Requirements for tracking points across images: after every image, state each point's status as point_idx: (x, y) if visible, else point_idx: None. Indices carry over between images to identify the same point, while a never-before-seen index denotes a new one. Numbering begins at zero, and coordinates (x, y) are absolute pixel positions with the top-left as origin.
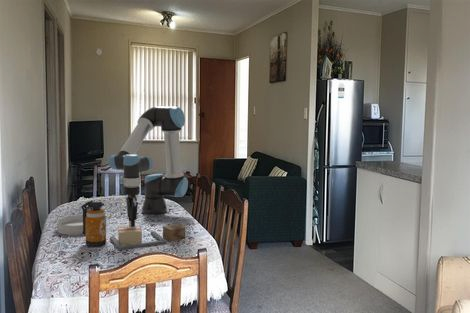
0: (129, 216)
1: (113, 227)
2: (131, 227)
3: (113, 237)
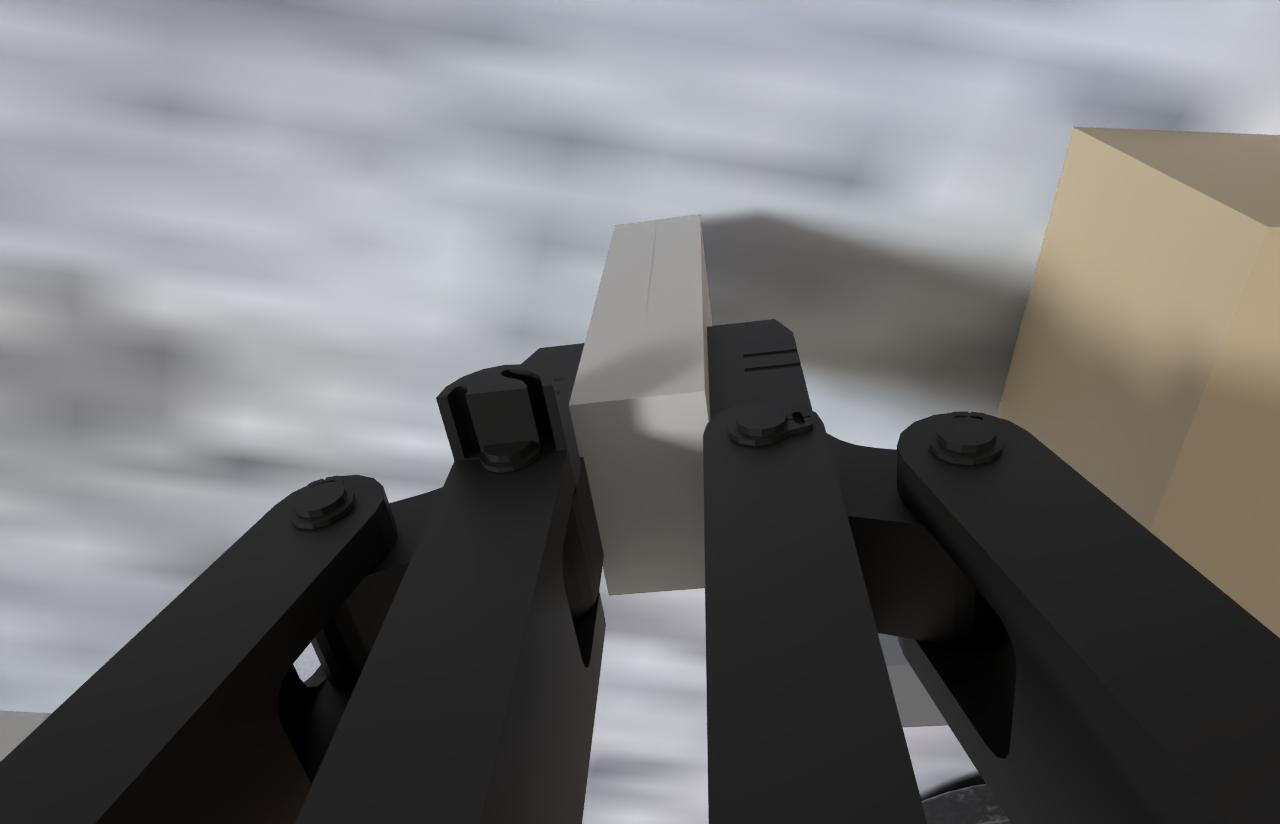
0: (592, 681)
1: (20, 560)
2: (1205, 516)
3: (924, 689)
